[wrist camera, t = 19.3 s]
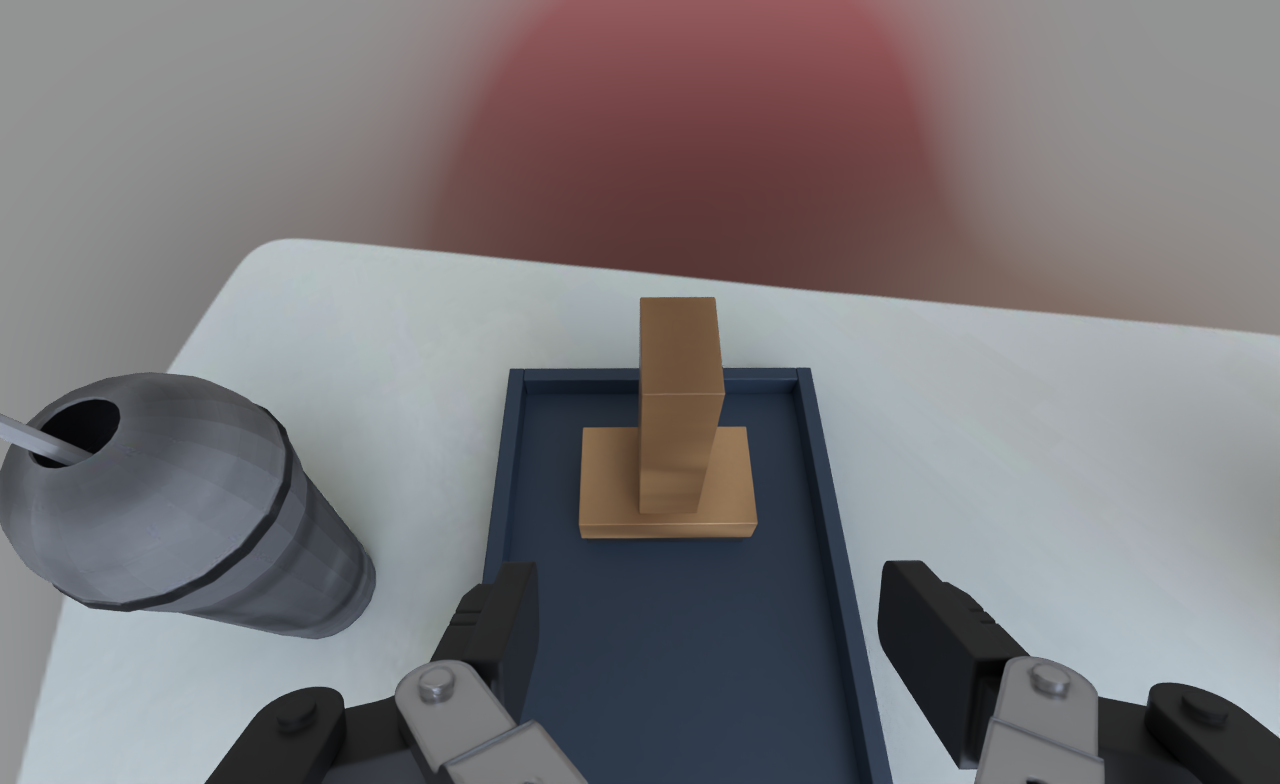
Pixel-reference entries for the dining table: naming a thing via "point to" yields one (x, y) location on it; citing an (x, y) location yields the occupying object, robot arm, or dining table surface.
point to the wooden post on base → (671, 442)
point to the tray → (689, 601)
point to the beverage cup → (179, 509)
